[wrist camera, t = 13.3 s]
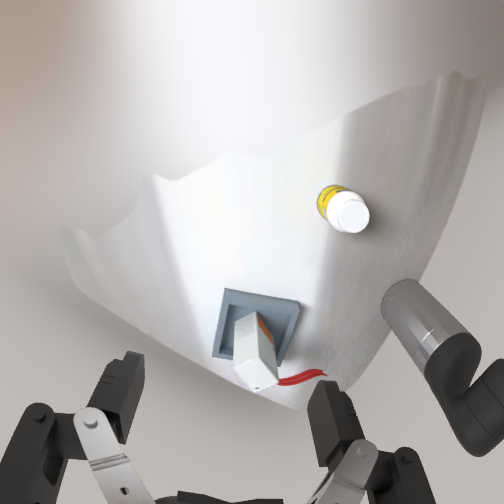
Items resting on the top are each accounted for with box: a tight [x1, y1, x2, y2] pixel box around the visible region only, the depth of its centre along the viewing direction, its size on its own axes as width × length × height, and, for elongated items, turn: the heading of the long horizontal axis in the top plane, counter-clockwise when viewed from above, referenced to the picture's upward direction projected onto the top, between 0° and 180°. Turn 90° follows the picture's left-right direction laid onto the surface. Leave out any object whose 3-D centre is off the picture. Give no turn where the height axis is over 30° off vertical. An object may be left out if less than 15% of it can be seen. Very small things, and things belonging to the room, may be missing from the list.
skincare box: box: [233, 311, 279, 393], centre depth 44 cm, size 6×4×12 cm
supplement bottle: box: [317, 185, 369, 233], centre depth 39 cm, size 5×5×10 cm
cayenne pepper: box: [277, 369, 328, 386], centre depth 54 cm, size 12×5×2 cm, turn 84°
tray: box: [212, 288, 300, 367], centre depth 49 cm, size 12×12×3 cm
